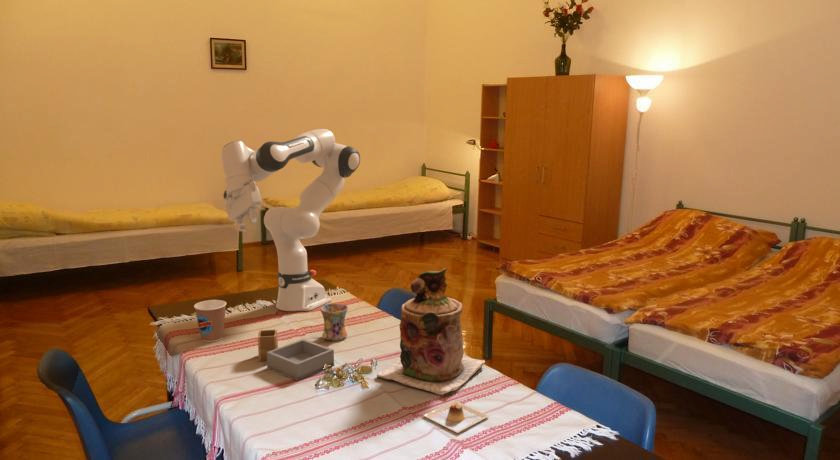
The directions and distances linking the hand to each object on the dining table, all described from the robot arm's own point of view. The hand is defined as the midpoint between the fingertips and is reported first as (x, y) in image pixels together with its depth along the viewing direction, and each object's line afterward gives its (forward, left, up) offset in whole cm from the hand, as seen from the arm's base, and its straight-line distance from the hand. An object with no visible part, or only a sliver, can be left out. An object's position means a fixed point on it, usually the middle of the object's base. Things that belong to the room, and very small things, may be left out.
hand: (248, 226), depth 203 cm
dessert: (+3, +89, -38) cm, 97 cm away
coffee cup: (+12, -6, -38) cm, 40 cm away
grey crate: (+8, +35, -37) cm, 52 cm away
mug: (-15, +24, -38) cm, 47 cm away
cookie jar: (-14, +67, -38) cm, 79 cm away
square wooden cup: (+10, +22, -37) cm, 44 cm away
